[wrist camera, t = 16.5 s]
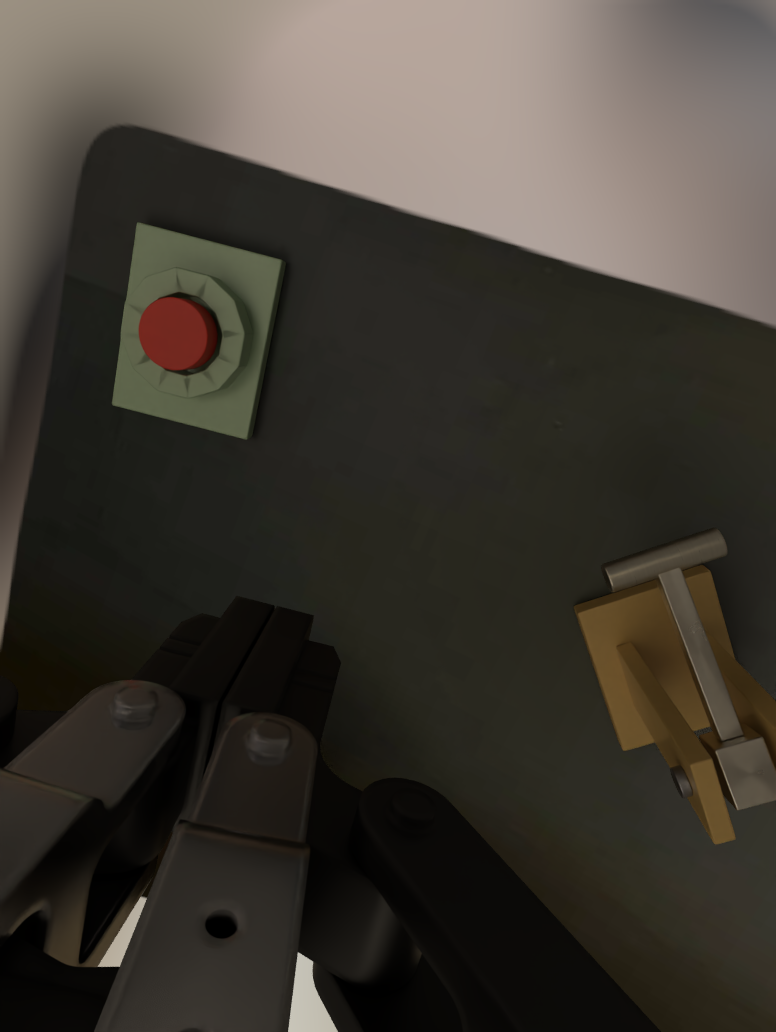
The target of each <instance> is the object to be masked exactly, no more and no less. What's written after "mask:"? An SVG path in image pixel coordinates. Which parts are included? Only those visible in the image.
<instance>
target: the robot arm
mask: <svg viewBox="0 0 776 1032" xmlns="http://www.w3.org/2000/svg"><path fill="white" fill-rule="evenodd" d="M313 618H314V615H310V614H306V613H302V612H298V611H294V610H291V609H287V608H283V607H279V606H277V607H276V608H275V606H274V605H270V604H267V603H263V602H259V601H255V600H251V599H247V598H243V597H239V596H237V597H236V598H235V599H234V600H233V602H232V603H231V604H230V606H229V607H228V608H227V610H226V611H225V612H224V614H223V615H222V616H221V618H218V617H214V616H211V615H207V614H203V613H202V614H200V615H197V616H195V617H192V618H190V619H188V620H185V621H183V622H181V623H180V624H179V625H178V627H177V628H176V629H175V630H174V631H173V632H172V634H171V635H170V637H169V638H167V639H166V640H165V642H164V643H163V644H162V645H161V646H160V649H158V650H157V651H156V652H155V653H154V654H153V655H152V657H151V658H150V659H149V660H148V661H147V662H146V663H145V665H144V666H143V667H142V668H141V669H140V670H139V672H138V673H137V674H136V675H135V676H134V677H133V678H132V680H125V681H117V682H112V683H108V684H105V685H102V686H100V687H98V688H96V689H94V690H93V691H91V692H90V693H89V694H87V695H86V696H85V697H84V698H83V699H82V700H81V701H80V702H78V703H77V704H76V705H75V706H74V707H73V708H72V709H70V710H69V711H36V710H17V704H18V690H17V688H16V687H15V685H14V684H13V683H12V682H11V681H9V680H8V679H6V678H5V677H2V676H0V1032H288V1027H289V1019H290V1010H291V1002H292V995H293V986H294V978H295V970H296V962H297V953H298V952H299V953H301V954H302V955H304V956H305V957H307V958H309V959H310V960H312V961H313V979H314V984H315V987H316V990H317V992H318V994H319V996H320V998H321V1000H322V1002H323V1004H324V1006H325V1008H326V1010H327V1012H328V1013H329V1015H330V1017H331V1019H332V1021H333V1023H334V1025H335V1027H336V1029H337V1030H338V1032H661V1031H660V1030H659V1029H658V1028H657V1027H656V1026H655V1025H654V1024H653V1023H652V1021H651V1020H650V1019H649V1018H648V1017H647V1016H646V1015H645V1014H644V1013H643V1012H642V1011H641V1009H640V1008H639V1007H638V1006H637V1005H636V1004H635V1003H634V1002H633V1001H632V1000H631V999H630V998H629V996H628V995H627V994H626V993H625V992H624V991H623V990H622V989H621V988H620V987H619V986H618V984H617V983H616V982H615V981H614V980H613V979H612V978H611V977H610V976H609V975H608V974H607V973H606V971H605V970H604V969H603V968H602V967H601V966H600V965H599V964H598V963H597V962H596V961H595V959H594V958H593V957H592V956H591V955H590V954H589V953H588V952H587V951H586V950H585V949H584V947H583V946H582V945H581V944H580V943H579V942H578V941H577V940H576V939H575V938H574V937H573V936H572V934H571V933H570V932H569V931H568V930H567V929H566V928H565V927H564V926H563V925H562V924H561V922H560V921H559V920H558V919H557V918H556V917H555V916H554V915H553V914H552V913H551V912H550V911H549V909H548V908H547V907H546V906H545V905H544V904H543V903H542V902H541V901H540V900H539V899H538V897H537V896H536V895H535V894H534V893H533V892H532V891H531V890H530V889H529V888H528V887H527V886H526V884H525V883H524V882H523V881H522V880H521V879H520V878H519V877H518V876H517V875H516V874H515V872H514V871H513V870H512V869H511V868H510V867H509V866H508V865H507V864H506V863H505V862H504V860H503V859H502V858H501V857H500V856H499V855H498V854H497V853H496V852H495V851H494V850H493V849H492V847H491V846H490V845H489V844H488V843H487V842H486V841H485V840H484V839H483V838H482V837H481V835H480V834H479V833H478V832H477V831H476V830H475V829H474V828H473V827H472V826H471V825H470V824H469V822H468V821H467V820H466V819H465V818H464V817H463V816H462V815H461V814H460V813H459V812H458V810H457V809H456V808H455V807H454V806H453V805H452V804H451V803H450V802H449V801H448V800H447V799H446V798H445V797H444V796H443V795H441V794H440V793H439V792H437V791H436V790H434V789H432V788H431V787H429V786H426V785H424V784H422V783H419V782H416V781H413V780H408V779H402V778H387V779H381V780H378V781H376V782H374V783H372V784H370V785H369V786H368V787H366V788H365V789H364V791H361V790H359V789H357V788H355V787H353V786H351V785H349V784H348V783H346V782H344V781H343V780H341V779H340V778H339V777H337V776H336V775H335V774H334V773H333V772H332V771H331V770H330V769H329V768H328V766H327V765H326V764H325V762H324V760H323V758H322V755H321V752H320V742H321V738H322V734H323V730H324V726H325V722H326V719H327V715H328V711H329V707H330V703H331V699H332V695H333V691H334V687H335V684H336V680H337V676H338V672H339V668H340V664H341V662H340V659H339V657H338V655H337V653H336V651H335V649H334V647H333V646H329V645H325V644H321V643H317V642H313V641H309V636H310V632H311V628H312V623H313ZM171 831H172V832H174V833H173V835H172V838H171V840H170V843H169V845H168V848H167V850H166V853H165V855H164V858H163V860H162V863H161V865H160V868H159V870H158V873H157V875H156V878H155V880H154V883H153V885H152V888H151V890H150V893H149V895H148V898H147V900H146V903H145V905H144V908H143V910H142V913H141V915H140V918H139V920H138V923H137V925H136V928H135V930H134V933H133V935H132V938H131V940H130V943H129V945H128V948H127V950H126V953H125V955H124V958H123V960H122V963H121V965H120V967H98V965H99V963H100V962H101V960H102V958H103V957H104V955H105V954H106V952H107V950H108V948H109V947H110V945H111V944H112V942H113V941H114V939H115V937H116V936H117V934H118V932H119V931H120V929H121V928H122V926H123V924H124V923H125V921H126V919H127V918H128V916H129V914H130V913H131V911H132V910H133V908H134V906H135V905H136V903H137V902H138V900H139V898H140V897H141V895H142V893H143V892H144V890H145V889H146V887H147V885H148V884H149V882H150V880H151V879H152V877H153V875H154V873H155V869H156V864H157V859H158V854H159V853H160V851H161V849H162V848H163V846H164V844H165V842H166V840H167V839H168V837H169V835H170V833H171Z"/></svg>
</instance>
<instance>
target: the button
mask: <svg viewBox="0 0 776 1032" xmlns="http://www.w3.org/2000/svg"><path fill="white" fill-rule="evenodd" d="M139 339H140V343H141V346H142V348H143V350H144V352H145V353H146V355H147V356H148V357H149V358H150V359H151V360H152V361H153V362H154V363H155V364H157V365H159V366H160V367H163V368H165V369H169V370H186V369H194V368H197V367H200V366H202V365H203V364H205V363H206V362H207V361H208V360H209V359H210V358H211V357H212V355H213V354H214V352H215V349H216V346H217V341H218V333H217V327H216V324H215V322H214V320H213V318H212V316H211V315H210V313H209V312H208V311H207V310H206V309H205V308H204V307H203V306H201V305H200V304H198V303H196V302H194V301H191V300H187V299H182V298H176V297H165V298H161V299H158V300H156V301H154V302H153V303H151V304H150V305H149V306H148V307H147V308H146V309H145V311H144V312H143V314H142V316H141V319H140V322H139Z"/></svg>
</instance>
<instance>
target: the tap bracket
mask: <svg viewBox="0 0 776 1032" xmlns="http://www.w3.org/2000/svg"><path fill="white" fill-rule="evenodd" d="M682 572H683V575H684V577H685V580H686V583H687V585H688V588H689V590H690V593H691V596H692V598H693V601H694V603H695V606H696V609H697V611H698V614H699V617H700V619H701V622H702V624H703V627H704V630H705V632H706V635H707V638H708V640H709V643H710V645H711V648H712V651H713V653H714V656H715V659H716V661H717V664H718V666H719V669H720V672H721V674H722V677H723V679H724V682H725V685H726V687H727V690H728V693H729V695H730V698H731V700H732V703H733V706H734V708H735V711H736V714H737V716H738V719H739V721H740V723H745V724H746V725H747V726H749V727H750V728H751V729H753V730H754V731H756V732H757V733H758V734H760V735H761V736H762V737H763V738H764V740H765V743H766V745H767V748H768V750H769V753H770V756H771V758H772V761H773V763H774V766H775V769H776V701H775V700H774V699H773V698H772V697H771V696H770V695H769V694H768V693H767V692H766V691H765V690H764V689H763V688H762V687H761V686H760V685H759V684H758V682H757V681H756V680H755V679H754V678H753V677H752V676H751V675H750V674H749V673H748V672H747V671H746V670H745V669H744V668H743V667H742V666H741V665H740V664H739V663H738V662H737V661H736V660H735V657H734V653H733V650H732V646H731V642H730V639H729V635H728V632H727V628H726V625H725V621H724V617H723V614H722V610H721V607H720V603H719V599H718V596H717V592H716V589H715V585H714V581H713V578H712V574H711V571H710V570H709V569H707V568H706V567H705V566H704V565H699V566H696V567H693V568H690V569H687V570H684V571H682ZM574 610H575V613H576V616H577V619H578V622H579V625H580V628H581V631H582V634H583V637H584V640H585V643H586V646H587V649H588V652H589V655H590V658H591V661H592V664H593V667H594V670H595V673H596V676H597V679H598V682H599V685H600V688H601V691H602V694H603V697H604V700H605V703H606V706H607V709H608V712H609V715H610V718H611V721H612V724H613V727H614V730H615V733H616V736H617V739H618V741H619V744H620V746H621V748H622V750H623V751H626V750H630V749H633V748H637V747H640V746H644V745H647V744H651V743H654V742H655V743H656V745H657V746H658V748H659V750H660V752H661V753H662V755H663V757H664V758H665V760H666V762H667V764H668V765H669V767H670V772H671V775H672V778H673V781H674V783H675V786H676V788H677V790H678V792H679V794H680V796H681V797H682V798H688V800H689V802H690V803H691V805H692V807H693V808H694V810H695V812H696V814H697V815H698V817H699V819H700V821H701V822H702V824H703V826H704V827H705V829H706V831H707V833H708V834H709V836H710V838H711V840H712V841H713V843H714V844H720V843H724V842H728V841H731V840H735V839H736V836H735V833H734V830H733V826H732V823H731V820H730V816H729V813H728V810H727V806H726V803H725V799H724V796H723V793H722V789H721V786H720V783H719V779H718V776H717V773H716V769H715V766H714V763H713V759H712V758H711V756H710V755H709V753H708V752H707V751H706V749H705V748H704V746H703V745H702V743H701V742H700V740H699V739H698V738H697V736H696V735H695V733H694V732H693V731H696V730H699V729H703V728H706V727H710V723H709V720H708V718H707V715H706V713H705V710H704V707H703V705H702V702H701V699H700V697H699V694H698V691H697V689H696V686H695V683H694V681H693V678H692V675H691V673H690V670H689V667H688V665H687V662H686V659H685V657H684V654H683V652H682V649H681V646H680V644H679V641H678V638H677V636H676V633H675V630H674V628H673V625H672V622H671V620H670V617H669V614H668V612H667V609H666V606H665V604H664V601H663V599H662V596H661V593H660V591H659V588H658V585H657V583H656V580H653V581H650V582H646V583H643V584H640V585H637V586H634V587H631V588H628V589H625V590H622V591H619V592H615V593H612V594H609V595H606V596H603V597H600V598H597V599H594V600H591V601H587V602H584V603H581V604H578V605H575V606H574Z"/></svg>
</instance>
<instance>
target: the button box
mask: <svg viewBox="0 0 776 1032" xmlns="http://www.w3.org/2000/svg"><path fill="white" fill-rule="evenodd" d="M285 267H286V262H284V261H283V260H281V259H277V258H273V257H270V256H266V255H262V254H258V253H254V252H250V251H247V250H243V249H239V248H235V247H231V246H228V245H224V244H220V243H216V242H212V241H208V240H205V239H201V238H197V237H193V236H189V235H186V234H182V233H178V232H174V231H170V230H166V229H163V228H159V227H155V226H151V225H147V224H144V223H140V222H138V223H137V227H136V234H135V241H134V249H133V256H132V263H131V270H130V278H129V285H128V292H127V299H126V302H125V306H124V313H123V320H122V327H121V343H120V350H119V357H118V364H117V372H116V379H115V386H114V393H113V401H112V405H114V406H118V407H122V408H125V409H129V410H133V411H137V412H141V413H145V414H149V415H153V416H156V417H160V418H164V419H168V420H172V421H176V422H180V423H184V424H187V425H191V426H195V427H199V428H203V429H207V430H211V431H215V432H218V433H222V434H226V435H230V436H234V437H238V438H242V439H249V438H251V437H252V434H253V429H254V424H255V419H256V414H257V409H258V404H259V399H260V394H261V389H262V384H263V379H264V373H265V368H266V363H267V358H268V353H269V348H270V343H271V338H272V333H273V328H274V323H275V318H276V313H277V307H278V302H279V297H280V292H281V287H282V282H283V277H284V272H285ZM165 297H176V298H182V299H187V300H191V301H194V302H196V303H198V304H200V305H201V306H203V307H204V308H205V309H206V310H207V311H208V312H209V313H210V315H211V316H212V318H213V320H214V322H215V324H216V327H217V333H218V341H217V346H216V349H215V352H214V354H213V355H212V357H211V358H210V359H209V360H208V361H207V362H206V363H205V364H203V365H202V366H200V367H197V368H194V369H186V370H169V369H165V368H163V367H160V366H159V365H157V364H155V363H154V362H153V361H152V360H151V359H150V358H149V357H148V356H147V355H146V353H145V352H144V350H143V348H142V346H141V343H140V339H139V322H140V319H141V316H142V314H143V312H144V311H145V309H146V308H147V307H148V306H149V305H150V304H151V303H153V302H154V301H156V300H158V299H161V298H165Z"/></svg>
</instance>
